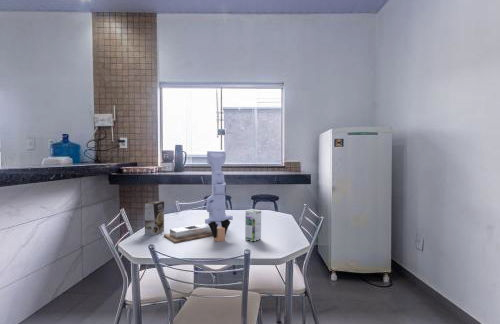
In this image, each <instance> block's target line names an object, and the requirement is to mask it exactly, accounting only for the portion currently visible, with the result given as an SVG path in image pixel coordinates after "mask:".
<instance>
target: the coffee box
mask: <svg viewBox="0 0 500 324" xmlns="http://www.w3.org/2000/svg"><path fill="white" fill-rule="evenodd" d="M164 231H165V201H164V200H161V201H160V200H159V201H157V200H156V201H150V202H146V203H145V204H144V235H148V236H149V235H151V236H156V235H158V234H161V233H162V232H164Z"/></svg>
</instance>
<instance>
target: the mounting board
mask: <svg viewBox="0 0 500 324" xmlns="http://www.w3.org/2000/svg"><path fill="white" fill-rule="evenodd" d="M163 237H164V238H165V239H167V240H168V241H171V242H172V243H174V244H177V243H183V242H187V241H193V240H198V239H203V238H209V237H213V235H212V232H210V233H204V234H199V235H193V236H188V237H182V238H177V239H176V238H174V237H172V236H171V235H170V232H169V233H165V234H163Z"/></svg>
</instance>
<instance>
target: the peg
mask: <svg viewBox="0 0 500 324" xmlns="http://www.w3.org/2000/svg"><path fill="white" fill-rule="evenodd" d="M213 241H215V242H222V241H226V236H225V228H224V227H221V226H219V227H217V236H216V238H214V237H213Z"/></svg>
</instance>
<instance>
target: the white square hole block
mask: <svg viewBox="0 0 500 324" xmlns="http://www.w3.org/2000/svg"><path fill="white" fill-rule="evenodd" d="M210 232H212V231H211V229H210V226H209V225H208V224H206V223H199V224H195V225H193V224H192V225H187V226H181V227H175V228H170V229H169V233H170V235H171V236H172V237H174V238H176V239H177V238H182V237H188V236H193V235H199V234H204V233H210Z"/></svg>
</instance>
